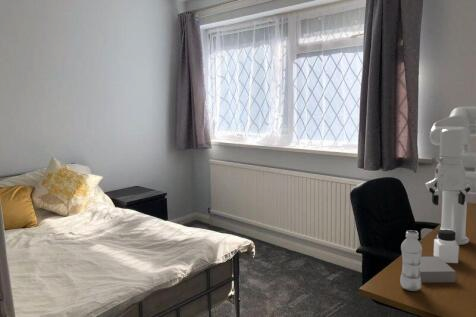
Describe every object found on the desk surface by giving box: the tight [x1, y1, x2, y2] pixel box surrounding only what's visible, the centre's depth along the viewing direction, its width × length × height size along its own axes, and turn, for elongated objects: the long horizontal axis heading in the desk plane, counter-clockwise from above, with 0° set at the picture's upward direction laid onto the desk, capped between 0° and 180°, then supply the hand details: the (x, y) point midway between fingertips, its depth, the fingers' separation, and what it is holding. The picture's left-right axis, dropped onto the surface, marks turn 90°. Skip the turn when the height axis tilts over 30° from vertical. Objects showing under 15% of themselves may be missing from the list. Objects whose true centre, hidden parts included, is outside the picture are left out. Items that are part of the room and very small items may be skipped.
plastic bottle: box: [399, 229, 423, 292], centre depth 130 cm, size 6×7×20 cm
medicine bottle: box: [433, 229, 460, 264], centre depth 153 cm, size 7×7×12 cm
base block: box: [420, 256, 457, 283], centre depth 141 cm, size 13×12×4 cm
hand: (448, 204), depth 150 cm, fingers open, 9 cm apart
